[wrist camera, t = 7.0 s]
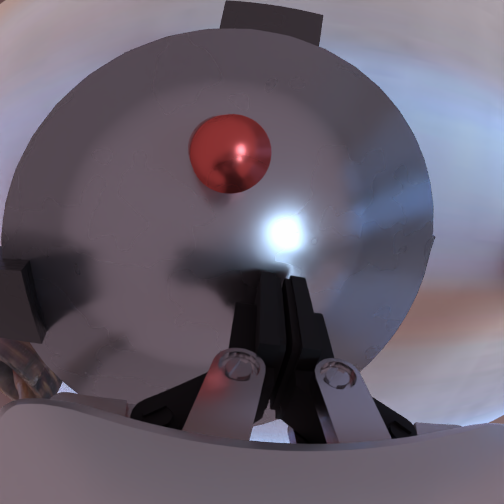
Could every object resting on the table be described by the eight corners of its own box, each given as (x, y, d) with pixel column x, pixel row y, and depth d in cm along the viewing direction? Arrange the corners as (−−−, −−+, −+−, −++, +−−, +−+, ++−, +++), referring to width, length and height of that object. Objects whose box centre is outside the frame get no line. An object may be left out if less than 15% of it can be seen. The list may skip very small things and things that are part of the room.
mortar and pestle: (107, 271, 26) (-12, 432, 8) (131, 339, 30) (63, 494, 11) (32, 275, 27) (-71, 386, 9) (58, 334, 30) (-16, 449, 12)
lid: (449, 116, 11) (492, 125, 8) (348, 394, 18) (366, 422, 16) (-66, 72, 4) (-104, 74, 1) (1, 397, 11) (-8, 430, 9)
